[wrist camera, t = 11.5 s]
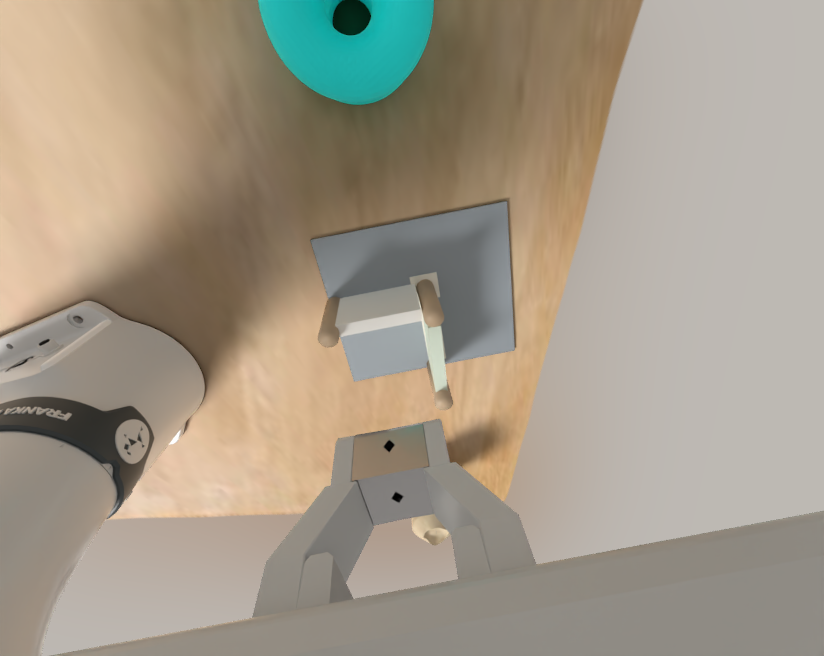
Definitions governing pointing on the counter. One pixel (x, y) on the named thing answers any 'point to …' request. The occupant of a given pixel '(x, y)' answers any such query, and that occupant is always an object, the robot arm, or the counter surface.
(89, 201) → the counter surface
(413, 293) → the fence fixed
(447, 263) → the board
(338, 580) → the robot arm
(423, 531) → the candle
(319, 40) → the donuts
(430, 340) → the fence panel
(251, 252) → the counter surface
